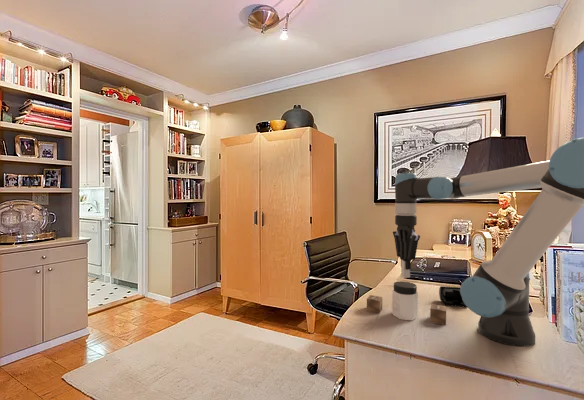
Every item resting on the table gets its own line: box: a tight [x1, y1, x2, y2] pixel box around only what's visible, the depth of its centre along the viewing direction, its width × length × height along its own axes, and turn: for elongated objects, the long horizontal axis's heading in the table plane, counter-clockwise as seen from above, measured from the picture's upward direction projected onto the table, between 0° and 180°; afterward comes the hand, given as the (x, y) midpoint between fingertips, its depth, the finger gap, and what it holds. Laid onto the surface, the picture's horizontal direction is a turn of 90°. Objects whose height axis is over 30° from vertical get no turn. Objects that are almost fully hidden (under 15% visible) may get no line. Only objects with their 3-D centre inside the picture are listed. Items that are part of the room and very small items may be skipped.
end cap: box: [438, 285, 468, 308], centre depth 124 cm, size 10×7×7 cm
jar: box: [391, 280, 419, 321], centre depth 112 cm, size 9×8×12 cm
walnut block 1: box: [429, 303, 447, 326], centre depth 107 cm, size 5×5×5 cm
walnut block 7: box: [366, 294, 383, 314], centre depth 117 cm, size 5×5×5 cm
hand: (405, 277), depth 111 cm, fingers closed
